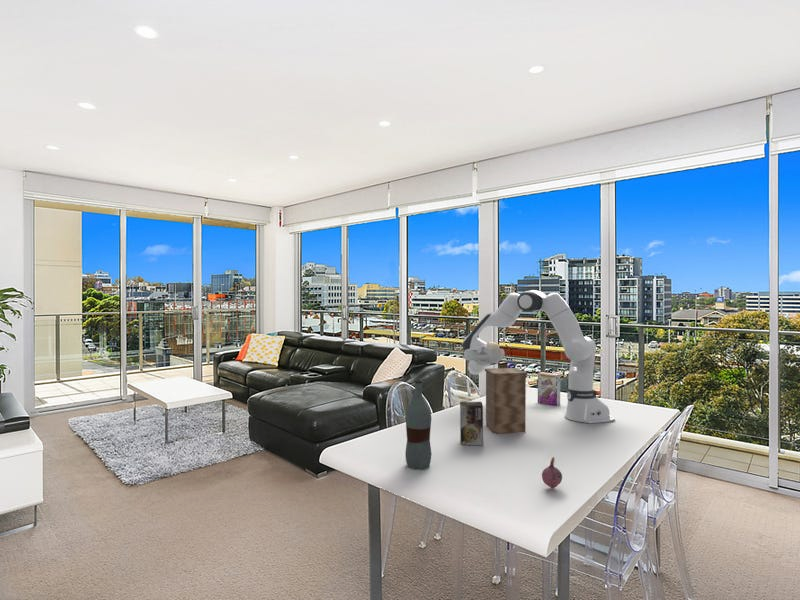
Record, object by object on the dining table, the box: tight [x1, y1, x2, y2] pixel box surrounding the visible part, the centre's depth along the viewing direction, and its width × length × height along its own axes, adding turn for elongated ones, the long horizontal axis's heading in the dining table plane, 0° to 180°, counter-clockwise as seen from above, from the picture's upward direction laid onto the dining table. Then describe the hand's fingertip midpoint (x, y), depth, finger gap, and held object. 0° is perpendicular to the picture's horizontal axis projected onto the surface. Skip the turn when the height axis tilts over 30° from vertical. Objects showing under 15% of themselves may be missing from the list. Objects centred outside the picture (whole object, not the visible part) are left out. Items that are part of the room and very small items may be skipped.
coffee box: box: [459, 401, 484, 446], centre depth 189 cm, size 9×6×16 cm
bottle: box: [404, 379, 432, 470], centre depth 164 cm, size 9×9×30 cm
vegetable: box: [541, 456, 563, 489], centre depth 145 cm, size 6×6×10 cm
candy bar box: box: [537, 371, 561, 406], centre depth 256 cm, size 11×5×16 cm, turn 49°
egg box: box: [481, 341, 502, 356], centre depth 228 cm, size 4×18×6 cm, turn 6°
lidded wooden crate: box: [484, 367, 528, 434], centre depth 208 cm, size 15×13×26 cm
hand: (488, 348), depth 233 cm, fingers closed on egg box, 4 cm apart
